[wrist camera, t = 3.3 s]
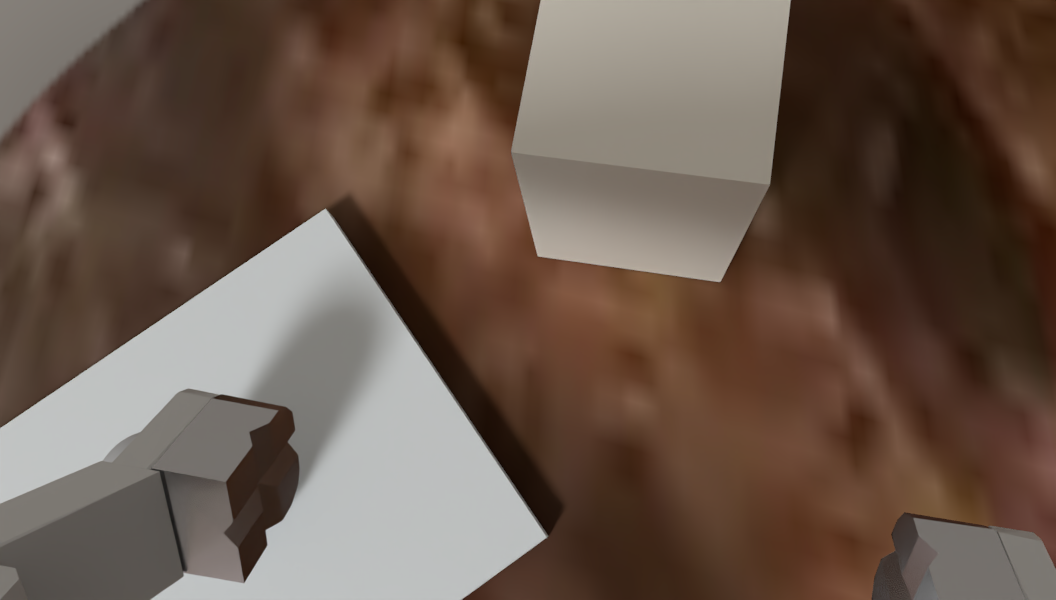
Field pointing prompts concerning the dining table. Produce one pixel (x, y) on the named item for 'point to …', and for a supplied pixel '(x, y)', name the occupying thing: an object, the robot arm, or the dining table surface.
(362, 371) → the stud board
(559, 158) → the cream rectangular block
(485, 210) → the dining table surface
